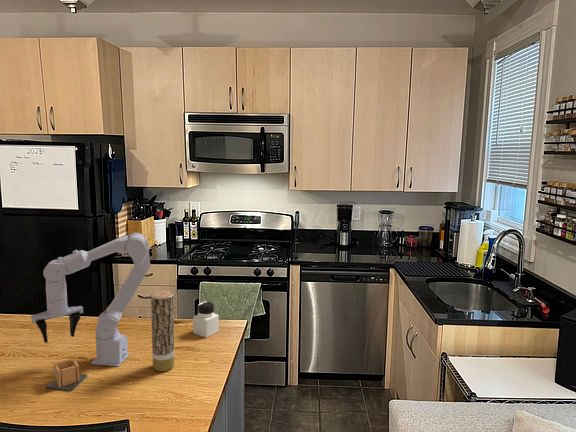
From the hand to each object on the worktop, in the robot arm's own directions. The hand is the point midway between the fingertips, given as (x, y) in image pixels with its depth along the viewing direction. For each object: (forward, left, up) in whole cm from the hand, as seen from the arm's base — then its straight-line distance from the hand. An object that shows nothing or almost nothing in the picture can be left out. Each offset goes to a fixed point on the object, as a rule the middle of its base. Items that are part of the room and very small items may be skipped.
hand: (59, 338), depth 136 cm
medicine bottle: (-39, -32, -10) cm, 51 cm away
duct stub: (-8, +9, -9) cm, 15 cm away
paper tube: (-33, -4, -10) cm, 35 cm away
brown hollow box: (-8, +9, -9) cm, 15 cm away
